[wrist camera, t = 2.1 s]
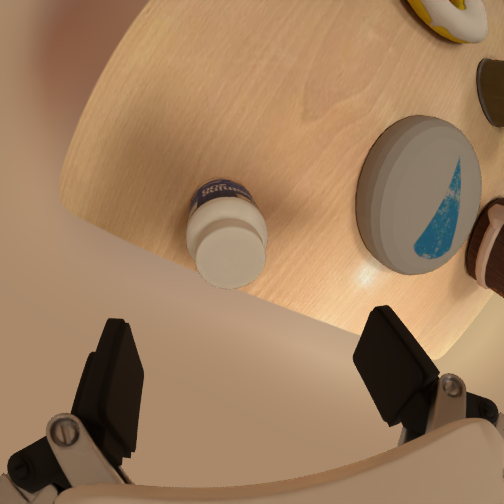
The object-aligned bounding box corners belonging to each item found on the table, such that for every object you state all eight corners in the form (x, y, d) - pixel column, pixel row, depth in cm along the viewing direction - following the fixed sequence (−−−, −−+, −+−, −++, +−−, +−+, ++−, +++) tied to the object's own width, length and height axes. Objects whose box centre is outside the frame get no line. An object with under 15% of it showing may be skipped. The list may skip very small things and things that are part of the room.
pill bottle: (259, 183, 23) (291, 225, 15) (243, 238, 26) (263, 304, 17) (197, 170, 22) (191, 205, 13) (185, 228, 24) (176, 292, 16)
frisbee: (477, 144, 24) (505, 153, 20) (440, 267, 32) (462, 286, 28) (375, 90, 20) (408, 89, 16) (335, 263, 29) (356, 290, 24)
